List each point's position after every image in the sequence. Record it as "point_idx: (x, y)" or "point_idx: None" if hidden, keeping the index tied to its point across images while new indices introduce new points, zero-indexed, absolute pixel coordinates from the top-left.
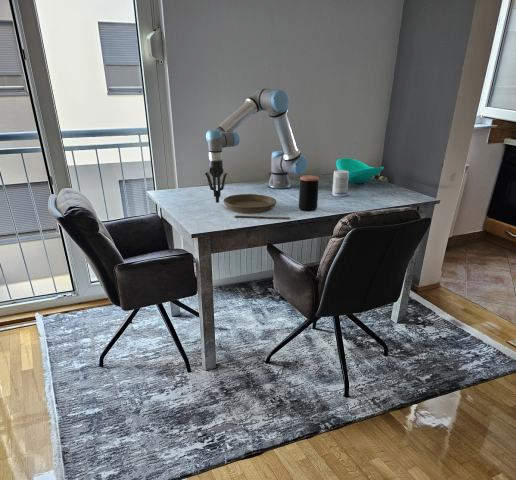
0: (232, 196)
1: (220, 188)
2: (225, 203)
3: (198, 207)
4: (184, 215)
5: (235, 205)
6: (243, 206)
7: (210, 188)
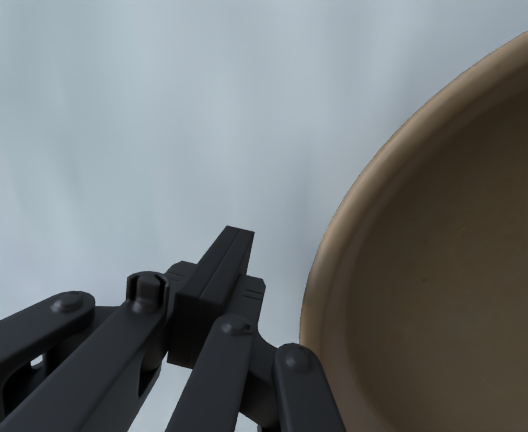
0: (463, 111)
1: (248, 417)
2: None
3: (77, 235)
4: None
5: (426, 291)
6: (504, 327)
7: (46, 375)
